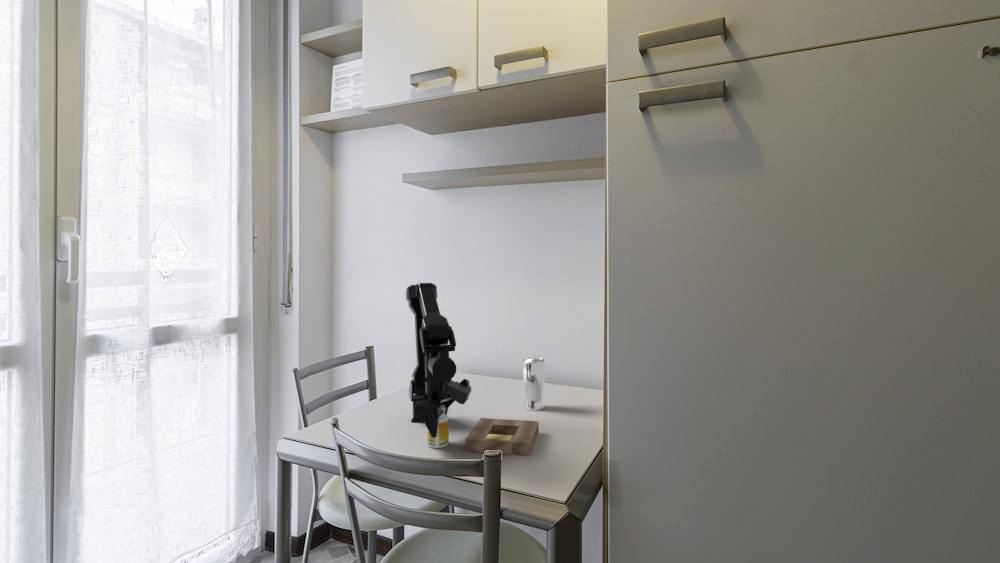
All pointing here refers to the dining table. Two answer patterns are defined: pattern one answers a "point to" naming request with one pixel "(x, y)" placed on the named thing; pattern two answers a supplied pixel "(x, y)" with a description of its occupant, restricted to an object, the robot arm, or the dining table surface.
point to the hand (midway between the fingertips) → (437, 432)
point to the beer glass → (534, 383)
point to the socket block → (503, 436)
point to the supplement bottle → (439, 432)
